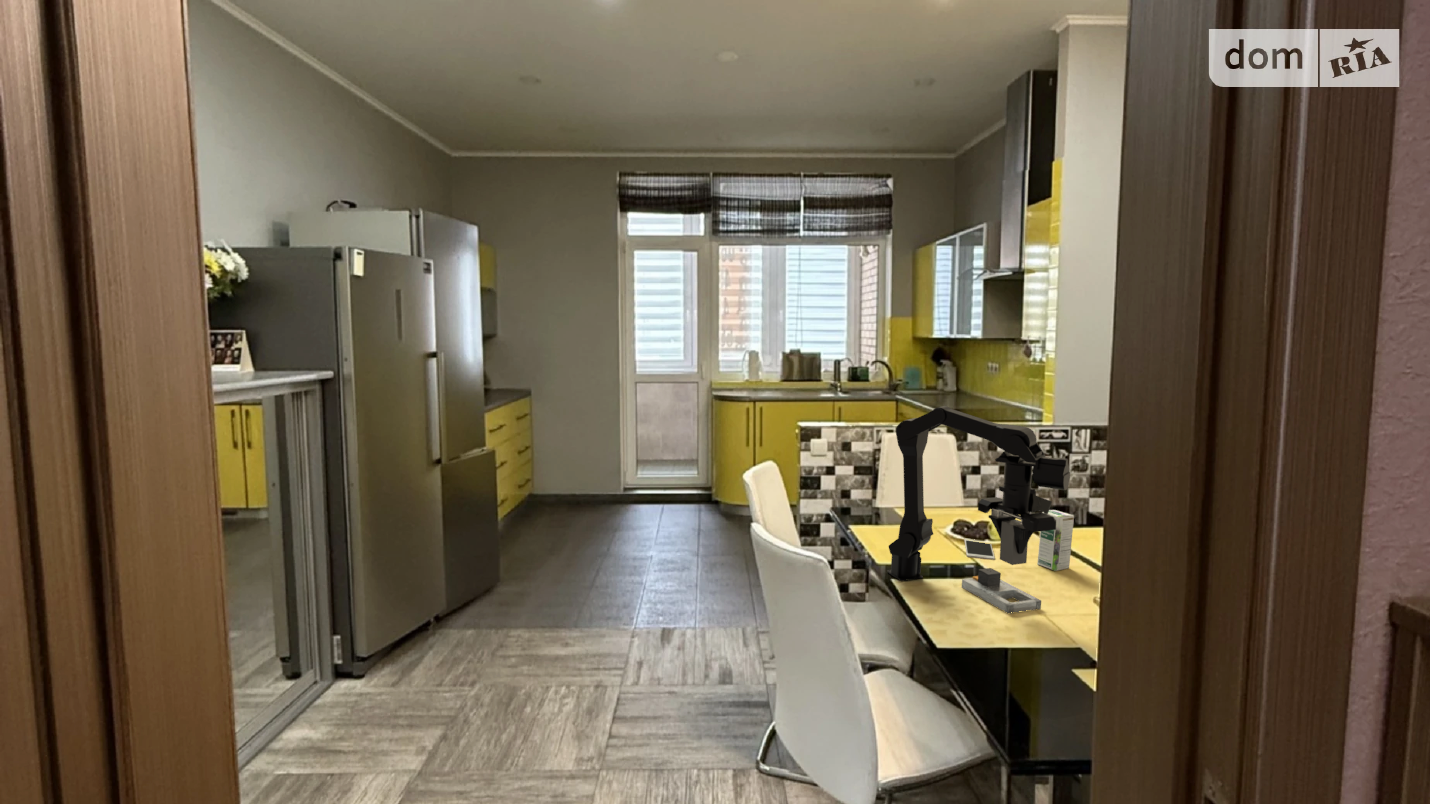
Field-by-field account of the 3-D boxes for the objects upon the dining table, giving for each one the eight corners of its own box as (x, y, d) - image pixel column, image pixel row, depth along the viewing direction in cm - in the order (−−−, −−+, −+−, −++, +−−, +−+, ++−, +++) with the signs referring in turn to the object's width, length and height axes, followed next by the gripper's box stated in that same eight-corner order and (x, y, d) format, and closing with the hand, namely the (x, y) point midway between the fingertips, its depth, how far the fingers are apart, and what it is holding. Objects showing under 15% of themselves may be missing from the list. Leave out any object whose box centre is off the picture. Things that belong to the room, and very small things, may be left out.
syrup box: (1036, 564, 194) (1040, 511, 192) (1051, 561, 196) (1055, 508, 195) (1055, 571, 189) (1059, 517, 187) (1070, 568, 191) (1075, 514, 190)
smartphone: (990, 543, 212) (990, 540, 212) (994, 561, 197) (994, 557, 197) (964, 541, 214) (964, 538, 214) (966, 558, 199) (966, 554, 199)
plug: (1012, 564, 164) (1014, 525, 163) (999, 559, 168) (1001, 521, 167) (1026, 563, 166) (1028, 524, 164) (1013, 557, 169) (1015, 519, 168)
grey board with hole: (1008, 613, 162) (1009, 592, 161) (961, 587, 177) (962, 567, 176) (1040, 609, 165) (1042, 587, 164) (992, 583, 180) (993, 563, 179)
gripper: (1078, 490, 158) (1073, 560, 160) (1016, 472, 176) (1012, 535, 178) (1037, 494, 155) (1032, 565, 157) (978, 475, 172) (974, 539, 174)
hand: (1013, 550), depth 166 cm, fingers closed on plug, 4 cm apart
